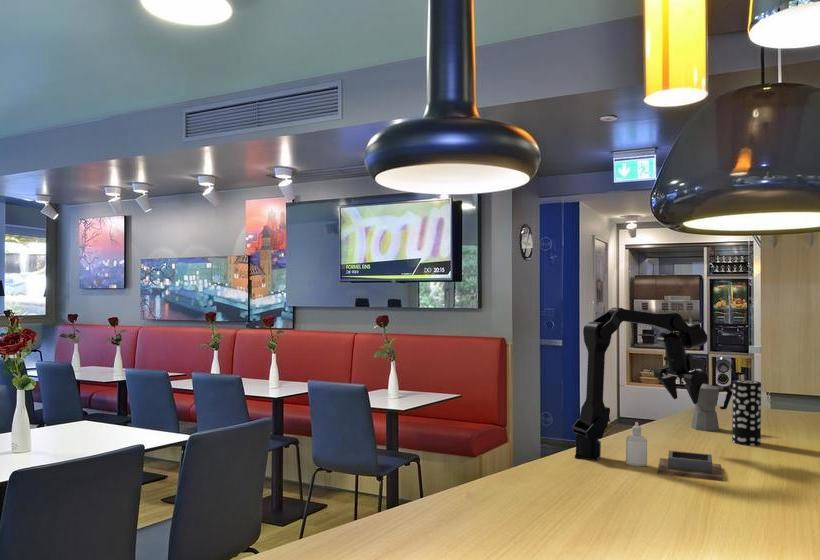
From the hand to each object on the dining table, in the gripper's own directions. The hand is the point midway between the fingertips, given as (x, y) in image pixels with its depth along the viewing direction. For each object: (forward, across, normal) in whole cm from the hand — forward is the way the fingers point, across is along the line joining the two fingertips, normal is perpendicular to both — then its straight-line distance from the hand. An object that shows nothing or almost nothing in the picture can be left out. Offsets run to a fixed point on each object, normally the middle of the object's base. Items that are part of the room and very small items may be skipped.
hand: (685, 401), depth 208 cm
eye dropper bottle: (+9, -11, +28) cm, 31 cm away
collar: (+12, -20, +17) cm, 29 cm away
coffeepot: (+23, +27, -27) cm, 44 cm away
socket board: (+12, -20, +17) cm, 29 cm away
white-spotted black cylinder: (+22, +5, -24) cm, 32 cm away
